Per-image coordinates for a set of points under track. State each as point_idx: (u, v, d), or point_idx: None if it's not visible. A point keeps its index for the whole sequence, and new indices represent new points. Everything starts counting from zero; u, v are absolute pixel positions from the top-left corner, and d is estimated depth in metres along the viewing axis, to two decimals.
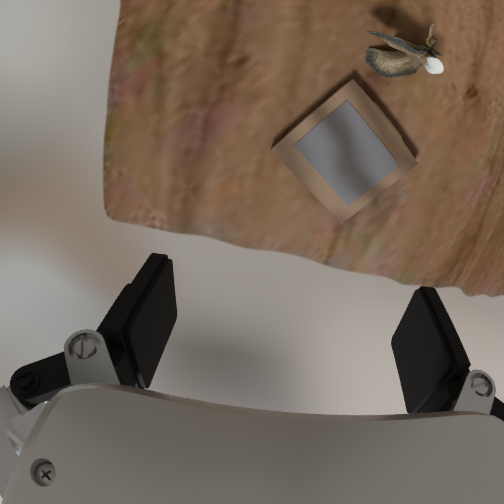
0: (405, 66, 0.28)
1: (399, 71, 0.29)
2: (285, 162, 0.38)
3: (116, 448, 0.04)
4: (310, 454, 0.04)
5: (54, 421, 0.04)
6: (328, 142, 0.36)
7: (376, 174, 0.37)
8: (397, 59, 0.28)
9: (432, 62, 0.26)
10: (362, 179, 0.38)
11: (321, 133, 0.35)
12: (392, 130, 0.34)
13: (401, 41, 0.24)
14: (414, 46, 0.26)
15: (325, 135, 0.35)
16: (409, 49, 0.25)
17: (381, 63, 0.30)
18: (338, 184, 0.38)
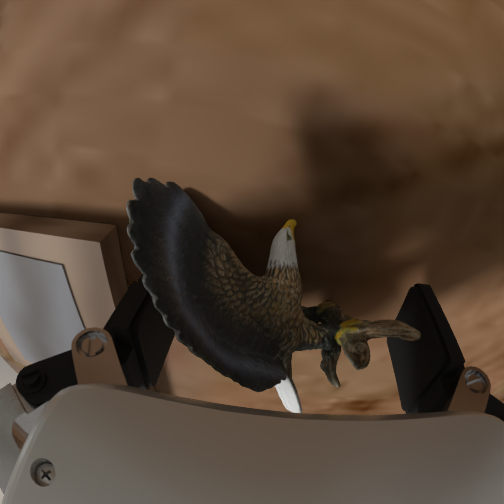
0: None
1: None
2: None
3: (116, 448, 0.04)
4: (310, 454, 0.04)
5: (54, 421, 0.04)
6: (12, 287, 0.14)
7: None
8: None
9: (282, 386, 0.11)
10: None
11: (3, 268, 0.13)
12: None
13: None
14: (288, 319, 0.10)
15: (9, 277, 0.13)
16: None
17: None
18: (16, 335, 0.17)
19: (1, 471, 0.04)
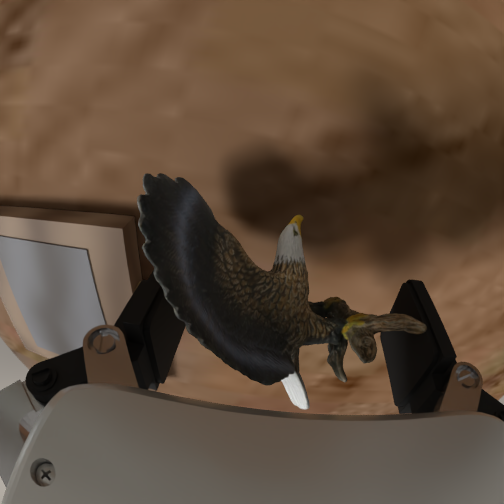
0: None
1: None
2: None
3: (116, 448, 0.04)
4: (310, 454, 0.04)
5: (54, 421, 0.04)
6: (34, 273, 0.17)
7: None
8: None
9: (290, 381, 0.11)
10: (63, 344, 0.20)
11: (28, 256, 0.16)
12: None
13: (200, 341, 0.07)
14: (295, 313, 0.10)
15: (32, 263, 0.16)
16: None
17: None
18: (32, 321, 0.19)
19: (6, 467, 0.04)
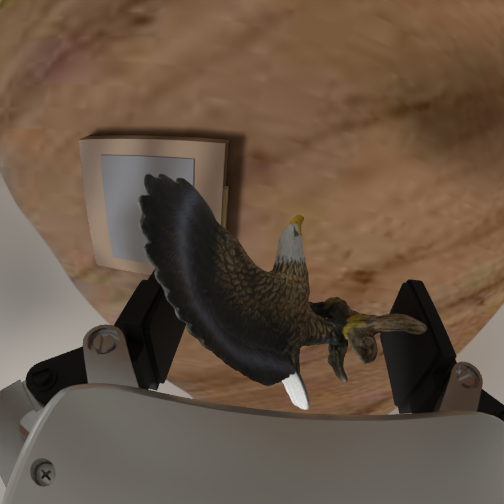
0: None
1: None
2: (82, 164, 0.25)
3: (116, 448, 0.04)
4: (310, 454, 0.04)
5: (54, 421, 0.04)
6: (136, 183, 0.26)
7: None
8: None
9: (290, 382, 0.11)
10: None
11: (135, 168, 0.25)
12: None
13: (200, 341, 0.07)
14: (296, 314, 0.10)
15: (138, 174, 0.25)
16: None
17: None
18: (116, 231, 0.28)
19: (6, 467, 0.04)
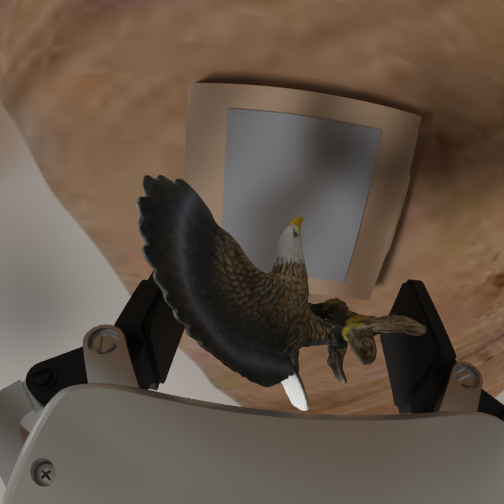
0: None
1: None
2: (190, 122, 0.17)
3: (116, 448, 0.04)
4: (310, 454, 0.04)
5: (54, 421, 0.04)
6: (285, 156, 0.18)
7: None
8: None
9: (289, 383, 0.11)
10: None
11: (289, 133, 0.17)
12: (388, 233, 0.19)
13: None
14: (295, 315, 0.10)
15: (292, 143, 0.17)
16: (225, 356, 0.08)
17: None
18: (235, 227, 0.21)
19: (6, 467, 0.04)
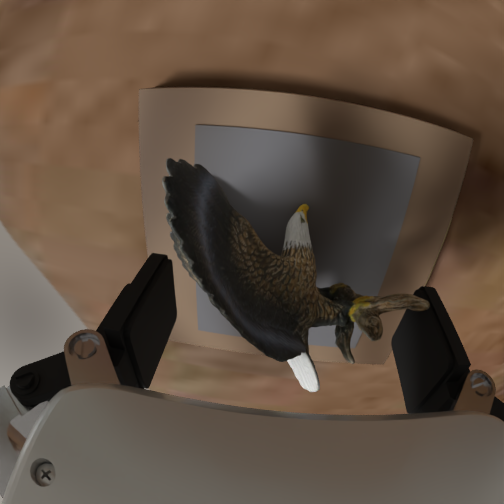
0: None
1: None
2: (144, 146, 0.12)
3: (116, 448, 0.04)
4: (310, 454, 0.04)
5: (54, 421, 0.04)
6: (281, 195, 0.12)
7: None
8: None
9: (300, 363, 0.11)
10: None
11: (288, 161, 0.11)
12: None
13: (221, 312, 0.07)
14: (305, 295, 0.11)
15: (292, 176, 0.12)
16: None
17: None
18: None
19: None
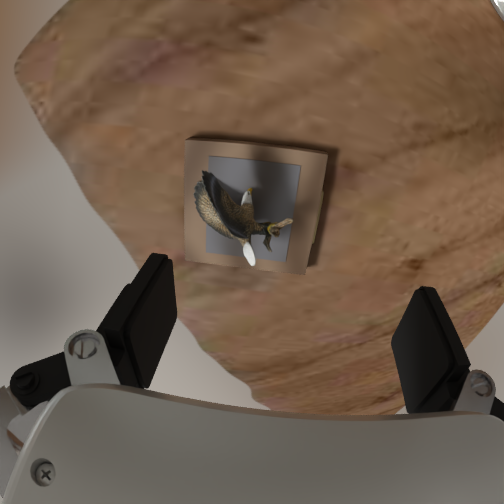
0: (221, 227, 0.30)
1: (213, 225, 0.31)
2: (186, 163, 0.30)
3: (116, 448, 0.04)
4: (310, 454, 0.04)
5: (54, 421, 0.04)
6: (243, 184, 0.30)
7: (257, 250, 0.34)
8: None
9: (248, 250, 0.29)
10: (240, 243, 0.34)
11: (245, 170, 0.30)
12: (311, 229, 0.32)
13: (217, 213, 0.25)
14: (248, 220, 0.29)
15: (246, 176, 0.30)
16: (224, 225, 0.26)
17: (203, 203, 0.30)
18: None
19: None
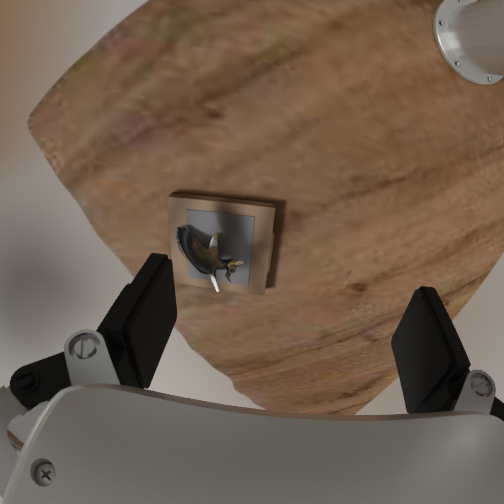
0: None
1: (189, 260, 0.41)
2: (170, 214, 0.40)
3: (116, 448, 0.04)
4: (310, 454, 0.04)
5: (54, 421, 0.04)
6: (212, 229, 0.41)
7: None
8: None
9: (213, 281, 0.40)
10: None
11: (212, 220, 0.40)
12: (266, 262, 0.42)
13: (188, 259, 0.36)
14: (213, 259, 0.39)
15: (214, 224, 0.40)
16: (194, 265, 0.37)
17: None
18: None
19: None
